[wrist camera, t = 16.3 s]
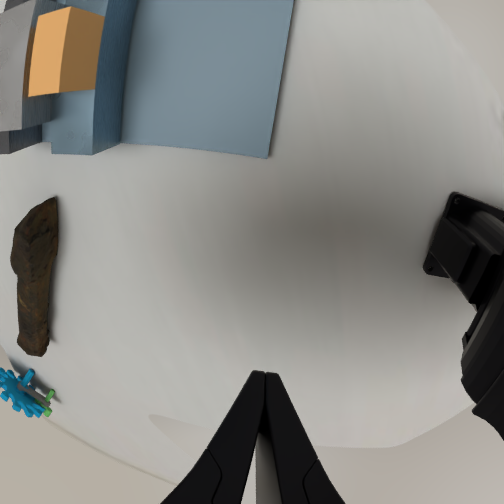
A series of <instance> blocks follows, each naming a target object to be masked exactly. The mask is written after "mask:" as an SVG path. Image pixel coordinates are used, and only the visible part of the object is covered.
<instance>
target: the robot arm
mask: <svg viewBox="0 0 504 504" xmlns="http://www.w3.org/2000/svg"><path fill="white" fill-rule="evenodd" d="M456 198H457V201H456V202H455V199H456ZM503 216H504V210H501V209H499V208H496V207H494V206H492V205H489V204H487V203H484V202H482V201H479V200H476V199H474V198H471V197H468V196H466V195H463V194H460V193H457V192H454V193H452V194H451V195H450V197H449V200H448V203H447V206H446V209H445V212H444V215H443V217H442V220H441V222H440V224H439V227H438V230H437V232H436V235H435V237H434V240H433V242H432V245H431V247H430V251H429V253H428V256H427V258H426V261H425V263H424V265H423V270H424V271H425V273H426V274H428V275H434V276H439V277H445V278H451V280H452V281H453V282H454V283H455V284H456V285H457V287H458V288H459V289H460V291H461V292H462V294H463V295H464V296H465V298H466V299H467V301H468V302H469V303H470V304H472V306H473V307H474V309H475V310H476V312H477V313H476V315H475V317H474V319H473V321H472V323H471V325H470V327H469V329H468V331H467V332H465V334H464V336H463V338H462V343H463V350H464V351H463V354H462V359H461V367H462V374H463V376H462V378H461V382H462V384H463V386H464V388H465V390H466V392H467V394H468V395H469V396H470V398H471V399H472V400H473V401H474V402H475V403H476V404H477V405H476V406H475V407H474V408H473V409H472V413H473V414H474V415H476V416H478V417H480V418H482V419H484V420H486V421H487V422H488V423H489V424H490V425H492V426H493V427H494V428H495V429H496V431H497V432H498V433H499V434H500V436H501V437H502V439H503V440H504V217H503ZM502 217H503V218H502ZM430 266H431V268H429V267H430ZM428 268H429V269H428ZM255 445H256V504H345V502H344V501H343V499H342V498H341V497H340V495H339V494H338V492H337V491H336V489H335V488H334V486H333V484H332V483H331V481H330V480H329V478H328V476H327V474H326V472H325V471H324V468H323V466H322V465H321V462H320V460H319V459H318V456H317V455H316V452H315V450H314V448H313V446H312V444H311V442H310V440H309V438H308V436H307V434H306V431H305V429H304V427H303V425H302V423H301V421H300V419H299V417H298V415H297V413H296V410H295V408H294V406H293V404H292V402H291V400H290V398H289V395H288V393H287V391H286V389H285V387H284V385H283V383H282V380H281V378H280V376H279V374H277V373H272V372H266V373H265V372H263V371H257V370H253V371H252V372H251V374H250V376H249V377H248V379H247V381H246V383H245V384H244V386H243V388H242V390H241V391H240V393H239V395H238V397H237V398H236V400H235V402H234V403H233V405H232V407H231V408H230V410H229V412H228V413H227V415H226V417H225V418H224V420H223V422H222V423H221V425H220V427H219V428H218V430H217V432H216V433H215V435H214V436H213V438H212V440H211V441H210V443H209V444H208V446H207V449H205V451H204V452H203V454H202V455H201V457H200V458H199V460H198V461H197V463H196V464H195V465H194V467H193V468H192V470H191V471H190V472H189V473H188V474H187V475H186V477H185V478H184V479H183V480H182V481H181V482H180V483H179V485H178V486H177V487H176V488H175V489H174V490H173V491H172V492H171V493H170V494H169V495H168V496H167V497H166V498H165V499H164V500H163V501H162V502H161V503H160V504H241V501H242V497H243V493H244V489H245V485H246V482H247V477H248V474H249V470H250V466H251V462H252V458H253V453H254V449H255Z"/></svg>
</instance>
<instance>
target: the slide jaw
mask: <svg viewBox="0 0 504 504" xmlns="http://www.w3.org/2000/svg"><path fill="white" fill-rule="evenodd" d="M136 3H137V0H66V3H65V7H64V8H63V9H59V10H56V11H53V12H50V13H47V14H43V15H40V16H38V21H37V27H36V32H35V38H34V44H33V51H32V59H31V68H30V79H29V94H28V97H30V96H36V95H44V94H51V93H52V114H51V150H52V154H77V155H94V154H96V153H99V152H101V151H103V150H106V149H108V148H111V147H113V146H116V145H118V144H120V128H121V112H122V99H123V88H124V78H125V70H126V62H127V54H128V47H129V41H130V35H131V29H132V23H133V18H134V13H135V8H136Z"/></svg>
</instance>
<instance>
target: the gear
mask: <svg viewBox="0 0 504 504" xmlns="http://www.w3.org/2000/svg"><path fill="white" fill-rule="evenodd" d="M33 375H34V371H33V370H31V369H29V370H28V372H27V374H26V375H25V377H24V378H23V377H21V376H18V378H16V377H15V375H14V373H13V371H12V370H7V372H5V370H4V369H3V368H0V387H2V388H3V389H4V390H5V391H3V392H2V393H1V395H0V397H1V398H2V399H3V400H5V401H7V400H8V399H9V397H10V398H11V399H12V402H13V406H12V407H13V409H14V410H16V411H18V412H20V410H21V408H22V409H23V410H24V412H25V414H26V416H27V417H32V416H33V414H35V415H36V416H37V417H38V418H39V417H40V416H41V414H42V412H44V415H45V416H47V417H49V415H50V414H51V412H52V410H51V409H50V408H49V406H50V404H51V403H50V401H49V400H50V399H51V397H52V396H53V394H54V393H55V391H54V390H53V389H51V390H50V392H49V393H48V395H47V396H46V398H45V397H44V396H42V395H41V394H39V393H38V392H36V391H35V388H34V387H33V386H31V385H29V386H28V385H27V384H28V383H29V381H30V380H31V378H32V377H33ZM1 381H2V382H1ZM45 409H46V410H45Z"/></svg>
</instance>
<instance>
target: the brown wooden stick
mask: <svg viewBox="0 0 504 504" xmlns="http://www.w3.org/2000/svg"><path fill="white" fill-rule="evenodd" d="M57 247H58V220H57V207H56V199H55V197H53V198H50V199H48V200H46V201H44V202H43V203H41V204H39V205H37V206H35V207H34V208H32V209H31V210H30V211H29V212H28V214H27V215H26V216H25V217H24V218H23V220H22V221H21V222H20V223H19V224H18V225H17V227H16V228H15V232H14V238H13V247H12V252H11V257H10V261H11V266H12V269H13V271H14V273H15V274H16V275H17V277H18V282H17V303H18V307H17V308H18V322H19V323H18V324H19V335H18V338H17V343H18V345H19V346H20V347H21V348H22V349H23V350H24V351H25V352H26V354H28V355H31V356H38V357H42V356H43V355H44V354H45V352H46V351H47V346H48V345H49V341H50V339H49V337H48V334H49V330H48V329H47V309H48V306H49V303H48V296H49V281H50V273H51V266H52V263H53V260H54V258H55V256H56V255H57Z"/></svg>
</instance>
